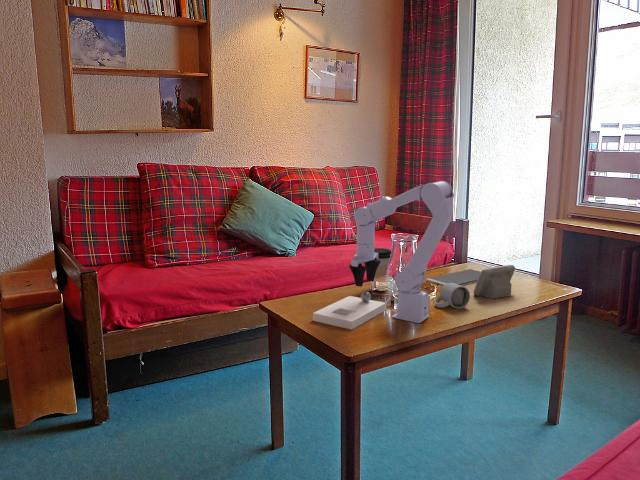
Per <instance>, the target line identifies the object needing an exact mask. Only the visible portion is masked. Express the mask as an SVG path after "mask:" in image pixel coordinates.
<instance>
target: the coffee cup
mask: <svg viewBox="0 0 640 480" xmlns="http://www.w3.org/2000/svg"><path fill="white" fill-rule="evenodd" d="M374 252H376V253H378V259H377V260H380V264H379V266H378V268H377V270H376V274H375V276H385V275H386V271H387V264H388V261H389V258H390V254H391V253H392V250H391V249H389V248H378V247H377V248H375V247H374Z"/></svg>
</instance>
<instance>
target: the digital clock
mask: <svg viewBox="0 0 640 480" xmlns="http://www.w3.org/2000/svg"><path fill="white" fill-rule="evenodd" d="M515 270H516V266H515V265H513V264H509V265H508V264H507V265H500V266H495V267H493V266H492V267H488V268H484V269H481V273H480V275H479V278H478V281H477V283H475V286H474V290H473V295H474V296H475V297H481V296H483V297H486V298H489V299H491V300H495V298H496V299H500V298H499V297H501V298H505V297H504V296H506V297H509V296H508V295H510V296H511V295H512V283H511V280H512V278H513V276H514V273H515Z"/></svg>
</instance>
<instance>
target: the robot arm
mask: <svg viewBox="0 0 640 480" xmlns="http://www.w3.org/2000/svg"><path fill="white" fill-rule="evenodd" d="M454 198H455V192H454V191H453V188H452V186H451V185H450V183H448V182H447V181H445V180H439V181H436V182H428V183H426V184H422V185H418V186H415V187H413V188H410V189H409V190H407V191H405V192H403V193H401V194H398V195H396V196H394V197H393V198H392V197H390V196H384V195H383V196H380V197H379V198H378V200H376V201H374V202H368V203H366V204H367V205H365V206H360V207H358V208H357V209H356V210H355V211H354V213H353V214H354V215H353V219H354V221H355V223H356V254H354V255H353V259H351V263H350V264H349V269H350V271H351V273H352V276H353V280H354V283H355V286H356V287H360V288H361V287H363V285H364V277H365V276H366V280H367V282H368V281H369V282H371V281H372V282H373V281H374V277H375V274H376V270H377V268H378V266H379V264H380V260H377V259H378V253H376V252H374V249H375V237H376V236H375V232H376V229H375V227H376V222H377V221H379V220H382V219H383V218H386V217H388V216H390V215H391V216H392V215H393V214H395V212H396V210H397V208H399V207H402V206H404V205H406V204H409V203H412V202H414V201H417V202H423V203H424V204H425V205H426V207H427V208H428V209H429V211H430V213H431V215H432V219H431V221H430V222H429V224H428V226H427V228H426V230H425V231H424V233H423V236H422V238H421V239H420V241H419V242H418V245H417V247H416V249H415V251H414V252H413V254H412V256H411V258H410V260H409V261H408V262H407V263H406V264H405V265H404V267H403V268H402V269H401V271H400V272H398V273H397V274H396V275H395V277H394V284H395V287H396V288H397V304H396V305H397V307H396V308H397V311H396V313H395V314H393V315H392V316H391V318H393V319H397V320H402V321H407V322H412V323H415V324H420V323H422V322H424V321H425V320H426V319H428V318H430V314H429V313H430V312H429V310H430V294H429V293H428V292H424V291H423V290H422V285H423V283H424V281H425V280H426V278H425V277H426V272H427V270H428V267H427V265H428V263H429V261H430V259H432V256H433V254H434V252H435V251H436V249H437V247H438V245H439V243H440V241H441V240H442V237H443V236H444V234H445V232H446V230H447V228H449V226H450V223H451V222H452V220H453V217H454ZM363 264H364V266H363ZM365 274H366V275H365Z"/></svg>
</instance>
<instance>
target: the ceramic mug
mask: <svg viewBox="0 0 640 480" xmlns="http://www.w3.org/2000/svg"><path fill="white" fill-rule="evenodd" d="M470 294H471V293H470V291H469V289H468V287H466V286H465V285H464V286H461V285H458V284H455V283H447V284H445V285H444V286H441V289H440V291H439V296H438V297H437V298H435V299H434V304H435V307H436V308H441V309H442V308H445V307H448V306H450V307H452V308H454V309H457V310H461V309H464V308H465V307H466V306H468V303H470V299H471V295H470ZM441 301H443V302H441ZM440 302H441V303H440Z"/></svg>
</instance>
